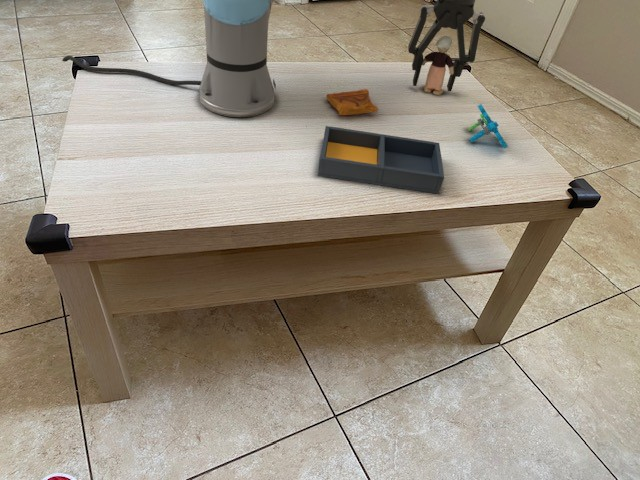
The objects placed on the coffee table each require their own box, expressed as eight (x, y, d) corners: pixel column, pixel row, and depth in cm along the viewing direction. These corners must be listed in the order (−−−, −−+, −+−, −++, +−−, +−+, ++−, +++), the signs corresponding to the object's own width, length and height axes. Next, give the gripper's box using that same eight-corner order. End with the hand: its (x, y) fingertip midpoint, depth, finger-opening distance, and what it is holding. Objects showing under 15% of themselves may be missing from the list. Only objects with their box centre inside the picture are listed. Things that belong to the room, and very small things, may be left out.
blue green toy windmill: (515, 152, 94) (491, 113, 90) (487, 169, 96) (463, 131, 92) (501, 130, 103) (478, 93, 99) (475, 146, 105) (452, 110, 101)
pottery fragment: (341, 108, 96) (326, 77, 102) (336, 126, 100) (322, 95, 105) (386, 106, 100) (369, 76, 105) (379, 123, 103) (363, 94, 109)
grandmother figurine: (447, 90, 115) (463, 36, 106) (446, 97, 112) (463, 42, 103) (415, 83, 116) (429, 29, 107) (413, 90, 113) (428, 35, 104)
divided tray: (317, 175, 84) (319, 158, 82) (323, 142, 92) (325, 125, 90) (438, 193, 84) (444, 177, 82) (434, 158, 92) (439, 142, 90)
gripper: (508, -18, 100) (472, 85, 116) (411, -33, 100) (388, 72, 116) (515, -8, 95) (476, 100, 110) (413, -23, 95) (388, 86, 110)
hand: (431, 86), depth 113 cm, fingers closed on grandmother figurine, 7 cm apart
